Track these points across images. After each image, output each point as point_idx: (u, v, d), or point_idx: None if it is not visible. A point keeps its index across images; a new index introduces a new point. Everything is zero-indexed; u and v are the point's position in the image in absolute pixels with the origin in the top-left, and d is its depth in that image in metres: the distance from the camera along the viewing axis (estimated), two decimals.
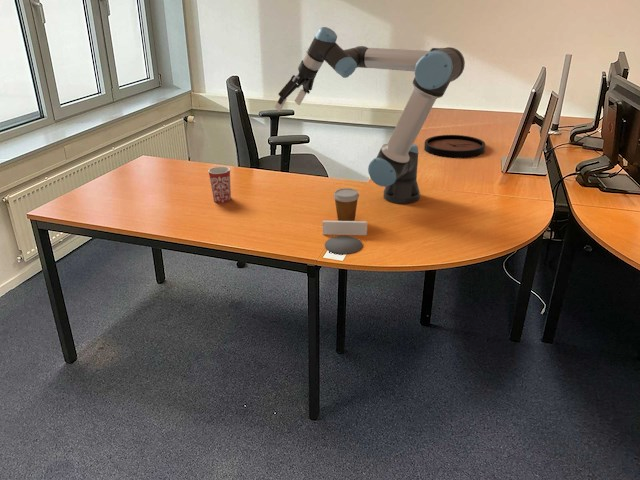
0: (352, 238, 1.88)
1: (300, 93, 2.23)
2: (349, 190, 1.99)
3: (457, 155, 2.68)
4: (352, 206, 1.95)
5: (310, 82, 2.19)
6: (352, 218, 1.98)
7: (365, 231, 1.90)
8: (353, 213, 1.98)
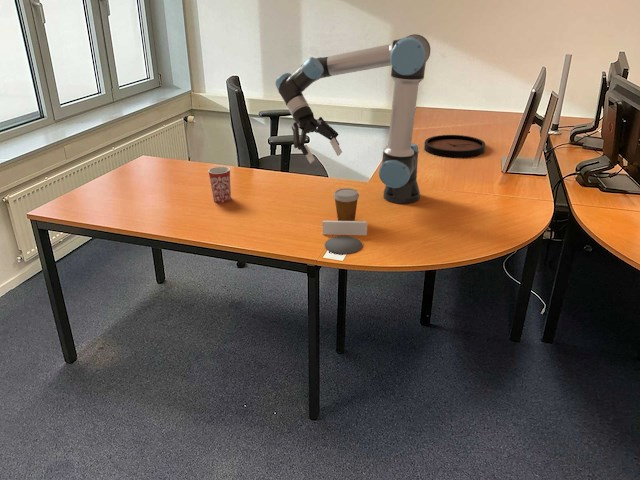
0: (352, 238, 1.88)
1: (332, 144, 2.04)
2: (349, 190, 1.99)
3: (457, 155, 2.68)
4: (352, 206, 1.95)
5: (326, 127, 2.05)
6: (352, 218, 1.98)
7: (365, 231, 1.90)
8: (353, 213, 1.98)
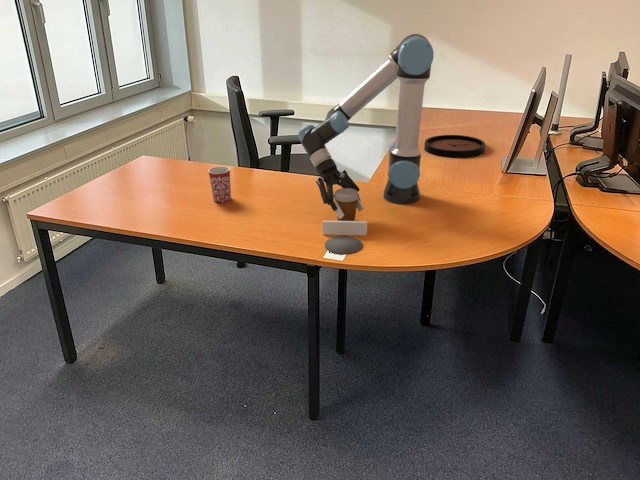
0: (352, 238, 1.88)
1: None
2: (349, 190, 1.99)
3: (457, 155, 2.68)
4: (352, 206, 1.95)
5: (349, 181, 2.03)
6: (352, 218, 1.98)
7: (365, 231, 1.90)
8: (353, 213, 1.98)
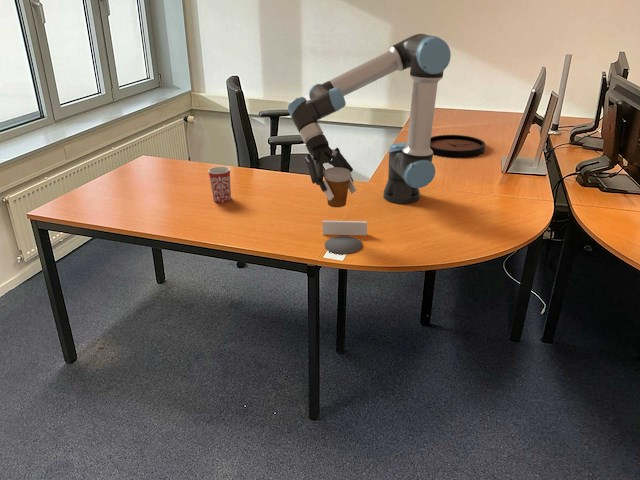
0: (352, 238, 1.88)
1: None
2: (341, 169, 1.82)
3: (457, 155, 2.68)
4: (343, 187, 1.78)
5: (341, 160, 1.85)
6: (343, 200, 1.81)
7: (365, 231, 1.90)
8: (344, 195, 1.80)
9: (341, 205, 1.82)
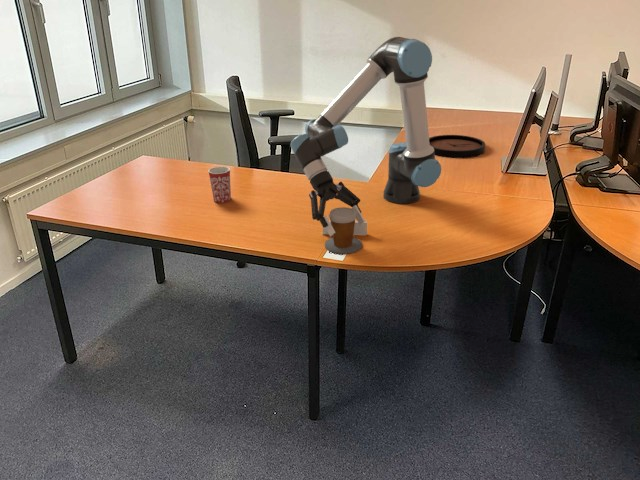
0: None
1: None
2: (346, 209, 1.81)
3: (457, 155, 2.68)
4: (349, 227, 1.77)
5: (347, 193, 1.85)
6: (349, 240, 1.80)
7: (365, 231, 1.90)
8: (350, 235, 1.80)
9: (348, 245, 1.81)
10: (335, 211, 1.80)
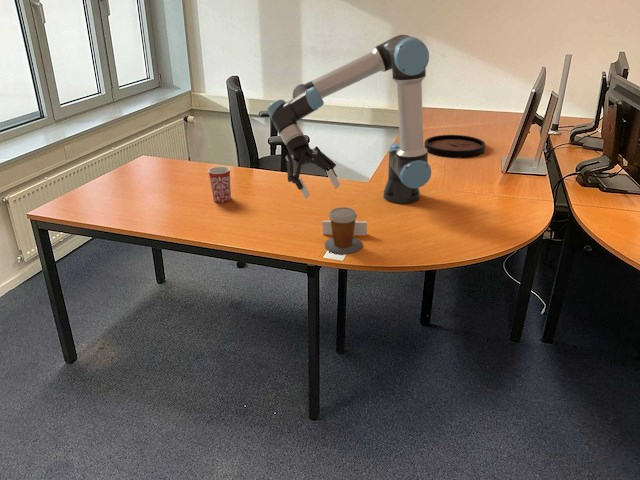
0: None
1: (329, 176, 1.89)
2: (346, 209, 1.81)
3: (457, 155, 2.68)
4: (349, 227, 1.77)
5: (323, 158, 1.89)
6: (350, 240, 1.81)
7: (365, 231, 1.90)
8: (350, 235, 1.80)
9: (348, 245, 1.81)
10: (335, 211, 1.80)
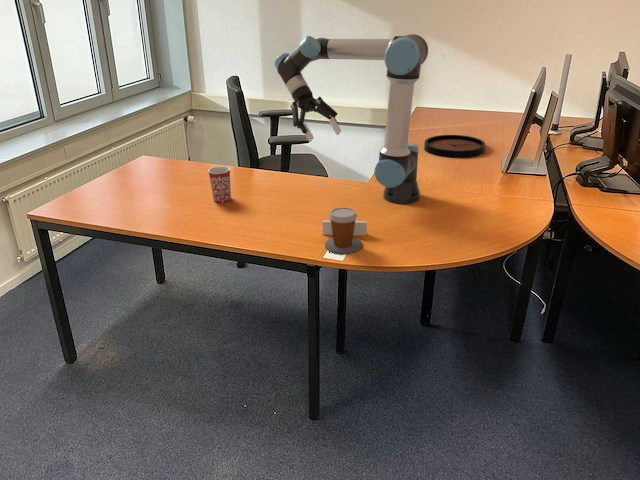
0: None
1: (331, 123, 2.05)
2: (346, 209, 1.81)
3: (457, 155, 2.68)
4: (349, 227, 1.77)
5: (325, 107, 2.06)
6: (350, 240, 1.81)
7: (365, 231, 1.90)
8: (350, 235, 1.80)
9: (348, 245, 1.81)
10: (335, 211, 1.80)
